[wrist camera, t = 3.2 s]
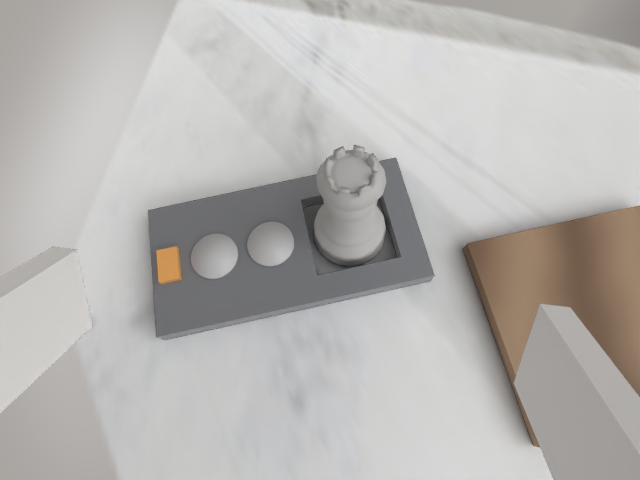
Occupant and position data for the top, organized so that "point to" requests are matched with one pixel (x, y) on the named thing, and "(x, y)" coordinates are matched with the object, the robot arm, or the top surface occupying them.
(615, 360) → the walnut pad
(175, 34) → the top surface
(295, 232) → the gray slotted board
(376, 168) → the rook chess piece
